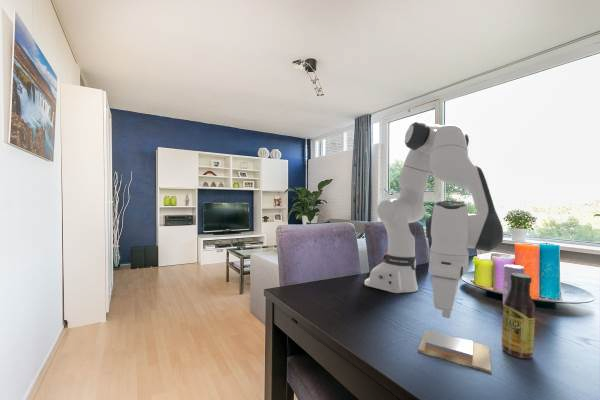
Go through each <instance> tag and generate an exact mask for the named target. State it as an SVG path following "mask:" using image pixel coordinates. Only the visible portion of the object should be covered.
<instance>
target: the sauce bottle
mask: <svg viewBox="0 0 600 400" xmlns="http://www.w3.org/2000/svg"><path fill="white" fill-rule="evenodd" d="M510 279H511V289H510V292H509V294H508V296H507V298H506V300H505V302H504V305H503V309H502V327H501V330H502V331H501V347H502V350H503V351H504V352H505V353H507V354H508V355H511V356H513V357H515V358H518V359H525V360H526V359H531V358H532V356H533V352H534V345H535V344H534V343H535V342H534V341H535V327H536V326H535V325H536V316H535V315H536V313H535V311H536V304H535V302H534V300H533V299H532V297H531V291H530V290H531V283H532V276H531V275H529V274H520V273H511V277H510Z"/></svg>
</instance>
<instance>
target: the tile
mask: <svg viewBox="0 0 600 400" xmlns="http://www.w3.org/2000/svg"><path fill="white" fill-rule="evenodd" d="M429 331H430V332H429V334H428V337H427V340H426V349H429V350H432V351H436V352H439V353H443V354H446V355H450V356H453V357H457V358H460V359H464V360H467V361H471V362H472V360H473V343H474V342H473V340H471V339H470V340H469V339H466V338H463V337H462V338H461V337H458V336H453V335H449V334H446V333H441V332H438V331H437V332H436V331H433V330H429Z"/></svg>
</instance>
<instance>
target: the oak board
mask: <svg viewBox="0 0 600 400" xmlns="http://www.w3.org/2000/svg"><path fill="white" fill-rule="evenodd" d="M430 331H431V330H429V331H428V330H425V331H424V332H423V335H422V338H421V342H420V343H419V346H418V348H417V352H418V353H421V354H425V355H428V356H431V357H435V358H437V357H439V358H438V359H441V360H444V359H446V360H445V361H448V362H451V361H452V362H451V363H454V362H455V363H454V364H458V365H461V364H462V366H465V365H466V366H465V367H468V366H469V368H471V367H473V369H475V368H477V369H476V370H478V369H480V371H482V370H483V372H485V371H486V373H488V372H489V374H492V365H491V354H490V346H489V345H485V344H481V343H476V342H473V360H472V362H471V361H467V360H464V359H460V358H457V357H453V356H450V355H446V354H443V353H439V352H436V351H432V350H429V349H426V340H427V337H428V334H429V332H430Z"/></svg>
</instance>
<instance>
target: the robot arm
mask: <svg viewBox="0 0 600 400" xmlns="http://www.w3.org/2000/svg"><path fill="white" fill-rule="evenodd" d="M469 142H470V141H469V135H468V134H467V133H466V132H465V131H464V130H463V129H462V127H460V126H459V125H456V124H444V125H443V124H441V125H440V124H435V123H427V122H425V121H415V122H413V123H411V124H410V125H409V127H408V129H407V130H406V132H405V136H404V144H405V146H406V148H408V149H409V152H408V154H407V156H406V158H405V160H404V162H403V165H402V169H401V171H400V175H399V177H398V180H397V183H398V186H399V187H400V191H399V192H400V194H399V197H389V198H387V199H383V200H382V201H380V203H378V205H377V209H376V211H377V212H376V213H377V216H378V218H379V219H380V221H381V222H382V223H383V224H384V228H385V230H386V234H387V252H385V253H384V254H383V256H382V260H383V261H382V262H381V263H379V264H378V265H376V266H374V267H373V268H372V269H371V270H370V272H369V273H370V274H369V277H367V278H366V279H364V285H365V286H366V287H369V288H370V287H371V288H375V289H377V290H378V289H379V290H382V291H387V292H389V293H393V294H394V293H395V294H402V293H415V292H418V291H419V287H418V283H417V282H418V281H417V275H416V269H417V256H416V252H415V250H416V249H415V248H416V239H415V236H414V235H413V233H412V232H411V229H410V226H409V224H411V223H417V221H420V220H422V219H423V218H424V216H425V214H426V206H425V205H424V195H425V189H426V187H427V184H428V182H429V178H430V175H431V174H433V176H434V177H436V178H437V179H439V180H440V181H442V182H445V183H448V184H450V185H451V184H452V185H456V186H458V187H461V188H463V189H465V190H466V191H468V192H469V193H470V195H471V196H472V200H473V204H474V208H475V210H476V211H475V212H476V213H469V211H468V205H467V204H466V203H463V202H461V201H456V200H455V201H454V200H442V201H437V202H436V203H434V205H433V210H432V214H431V215H430V216H429V217H427V218H426V219H425V222H426V231H425V232H426V233H425V234H426V235H425V238H426V239H428V241H430V242H431V245H430V249H429V274H430V276H432V294H433V295H432V296H433V304H434V308H435V309H437V310H440V311H442V312H441V316H442V318H445V319H450V318H451V315H452V311H453V307H454V304H455V300H456V296H457V293H458V289H459V282H460V280H462V279H463V276H465V275H466V274H468V272H469V256H470V255H469V250H468V249H473V250H478V251H484V252H491V251H493V250H494V249H496V248H498V247H499V246H500V245H502V243H503V239H504V228H503V225H502V222H501V220H500V218H499V215H498V214H497V211H496V208H495V205H494V202H493V198H492V195H491V192H490V188H489V185H488V182H487V179H486V177H485V173H484V171H483V170H482V168H481V167H480V166H478V165H476V164H474V163H473V162H472V161H471V159H470V157H469V152H468V150H469V149H468V147H469Z"/></svg>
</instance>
